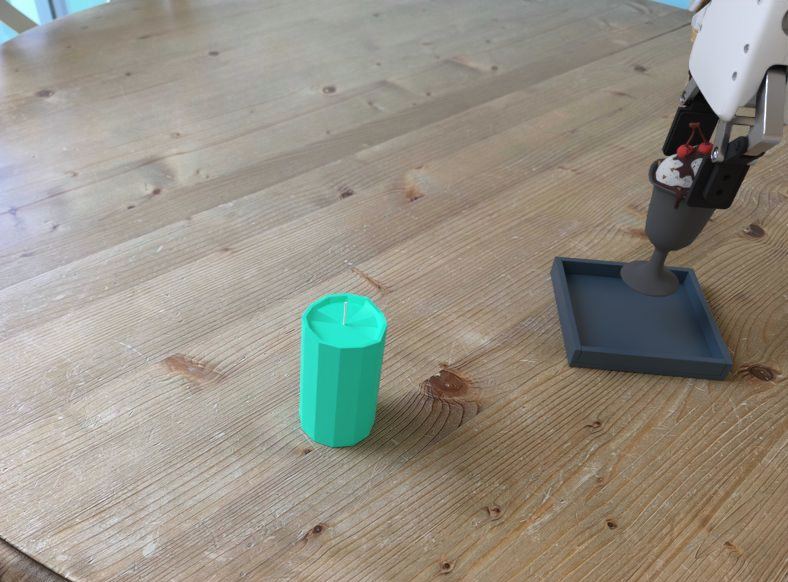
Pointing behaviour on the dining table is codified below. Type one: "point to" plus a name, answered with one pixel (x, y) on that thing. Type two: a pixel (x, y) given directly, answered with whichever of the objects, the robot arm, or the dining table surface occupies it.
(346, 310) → the candle
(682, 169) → the sundae
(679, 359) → the tray
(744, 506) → the dining table surface
